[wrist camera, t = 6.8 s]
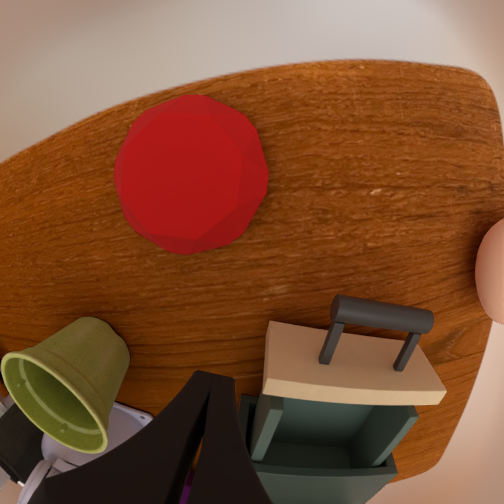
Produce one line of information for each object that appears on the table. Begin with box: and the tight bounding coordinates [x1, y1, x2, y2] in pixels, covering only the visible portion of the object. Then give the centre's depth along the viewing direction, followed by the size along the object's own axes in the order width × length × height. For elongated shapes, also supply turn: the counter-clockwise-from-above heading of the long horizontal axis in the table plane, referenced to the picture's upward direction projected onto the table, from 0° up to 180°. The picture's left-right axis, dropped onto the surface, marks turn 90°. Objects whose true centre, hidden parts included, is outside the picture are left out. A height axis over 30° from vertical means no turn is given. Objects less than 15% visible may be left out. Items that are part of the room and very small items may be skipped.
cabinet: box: [237, 394, 398, 504], centre depth 21 cm, size 14×13×8 cm
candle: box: [0, 403, 44, 491], centre depth 14 cm, size 5×5×25 cm
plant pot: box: [1, 317, 130, 454], centre depth 18 cm, size 9×9×9 cm
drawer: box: [246, 294, 447, 469], centre depth 18 cm, size 17×11×6 cm
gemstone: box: [114, 95, 269, 255], centre depth 16 cm, size 9×9×3 cm
